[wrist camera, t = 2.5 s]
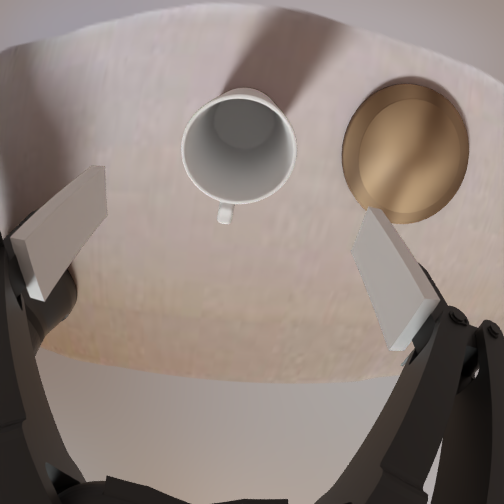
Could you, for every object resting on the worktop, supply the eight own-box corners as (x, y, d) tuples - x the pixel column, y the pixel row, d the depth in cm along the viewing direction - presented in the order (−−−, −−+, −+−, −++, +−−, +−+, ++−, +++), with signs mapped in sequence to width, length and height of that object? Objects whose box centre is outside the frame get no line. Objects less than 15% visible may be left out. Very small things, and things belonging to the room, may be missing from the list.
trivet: (324, 205, 32) (326, 210, 31) (362, 61, 22) (366, 61, 22) (435, 230, 33) (439, 234, 32) (478, 116, 24) (484, 118, 23)
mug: (216, 78, 24) (191, 84, 14) (287, 93, 25) (311, 110, 15) (198, 174, 30) (170, 236, 20) (262, 187, 30) (267, 255, 21)
